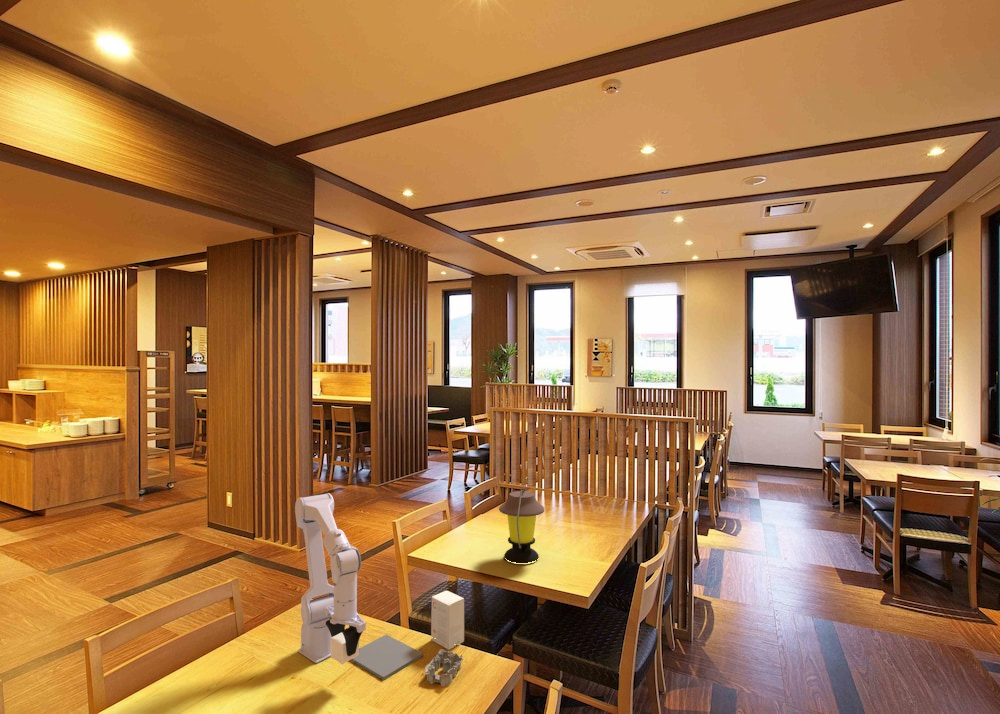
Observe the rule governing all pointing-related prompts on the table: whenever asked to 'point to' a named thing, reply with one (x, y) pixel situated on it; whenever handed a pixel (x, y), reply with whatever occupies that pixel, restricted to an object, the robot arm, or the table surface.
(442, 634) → the small box
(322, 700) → the table surface
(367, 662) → the mat
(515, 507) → the lantern
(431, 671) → the egg carton
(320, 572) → the robot arm
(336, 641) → the cube
